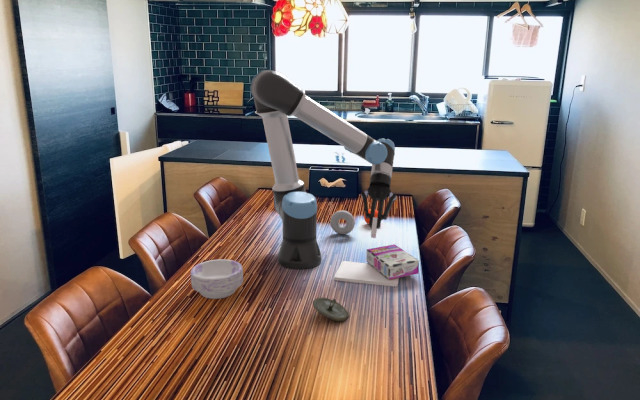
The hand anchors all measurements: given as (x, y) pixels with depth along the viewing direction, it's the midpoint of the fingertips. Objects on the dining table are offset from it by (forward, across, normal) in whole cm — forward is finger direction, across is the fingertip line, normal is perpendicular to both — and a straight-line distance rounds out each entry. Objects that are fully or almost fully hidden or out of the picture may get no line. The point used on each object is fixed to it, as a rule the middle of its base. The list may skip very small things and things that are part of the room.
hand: (373, 236), depth 172 cm
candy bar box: (+3, -2, -6) cm, 7 cm away
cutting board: (+14, 0, 0) cm, 14 cm away
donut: (-12, +16, -26) cm, 33 cm away
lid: (+35, +6, +21) cm, 42 cm away
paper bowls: (+31, +42, +17) cm, 55 cm away
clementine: (-23, +6, -37) cm, 44 cm away
